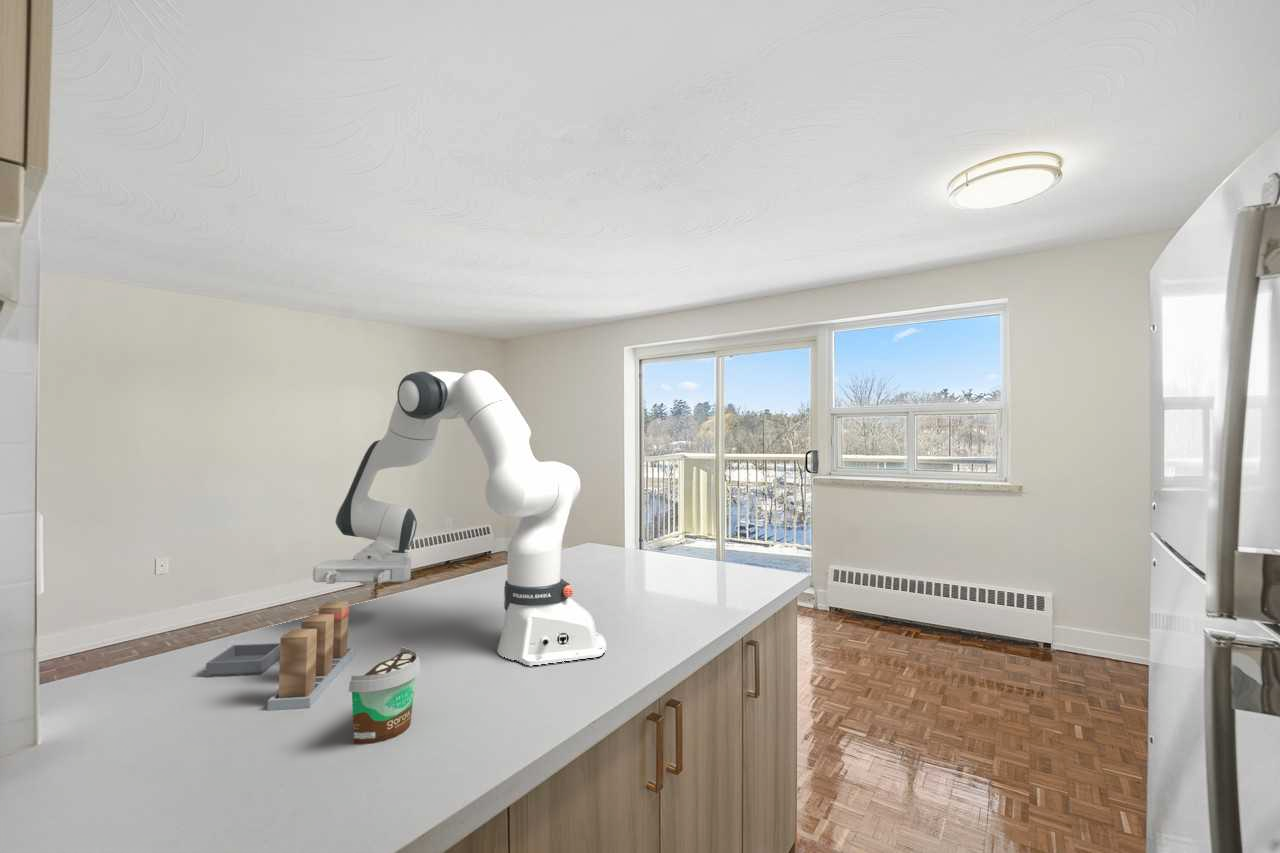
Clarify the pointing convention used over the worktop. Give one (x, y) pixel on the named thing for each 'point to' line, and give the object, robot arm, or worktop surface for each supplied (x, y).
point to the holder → (320, 686)
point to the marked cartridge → (338, 626)
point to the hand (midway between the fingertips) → (353, 579)
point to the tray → (244, 660)
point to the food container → (384, 698)
